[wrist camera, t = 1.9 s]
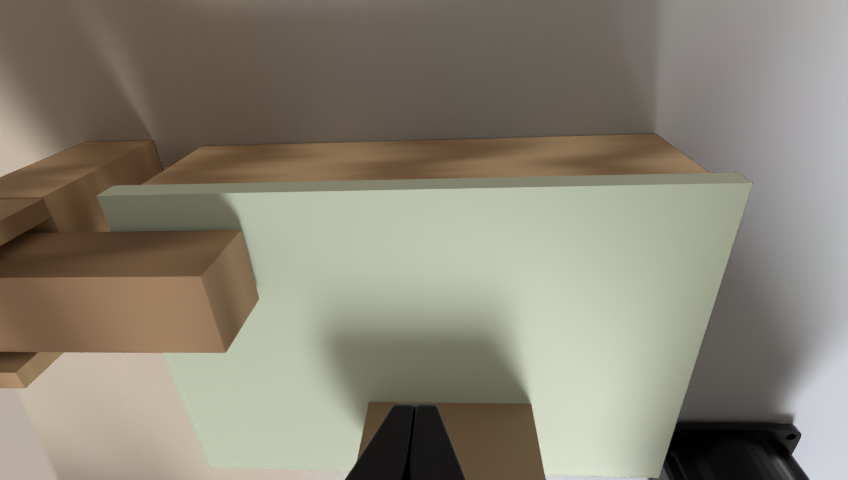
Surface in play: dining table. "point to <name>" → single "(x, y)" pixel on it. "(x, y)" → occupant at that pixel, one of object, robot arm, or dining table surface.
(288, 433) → the lid
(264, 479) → the dining table surface
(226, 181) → the tan wooden box
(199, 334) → the wooden plank
